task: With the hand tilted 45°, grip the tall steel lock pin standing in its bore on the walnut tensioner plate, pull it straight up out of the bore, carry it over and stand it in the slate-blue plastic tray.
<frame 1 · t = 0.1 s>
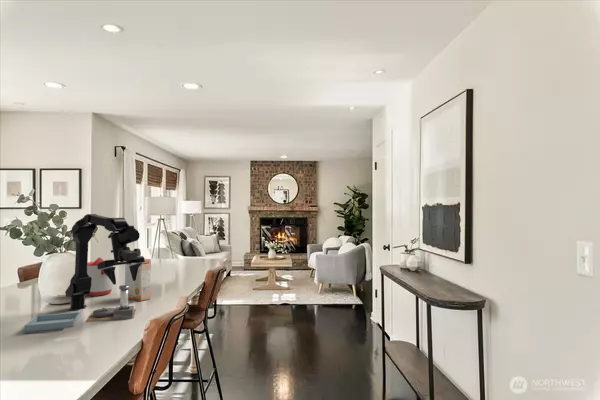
hand: (124, 282, 158), 15 cm above the kitchen island, tool pointing down, fingers open, 9 cm apart
tensioner plate: (111, 317, 160), on the kitchen island
tray: (54, 325, 149), on the kitchen island
lock pin: (123, 316, 158), point 1 cm above the kitchen island, touching tensioner plate
citrus juicer: (99, 294, 205), on the kitchen island
cracker box: (137, 299, 195), on the kitchen island
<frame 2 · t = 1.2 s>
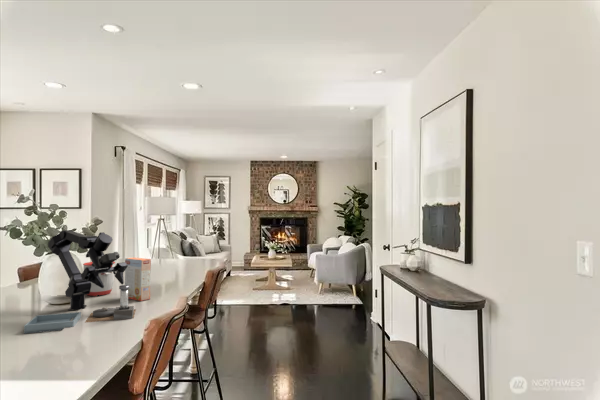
hand: (113, 285, 163), 13 cm above the kitchen island, tool tilted 45°, fingers open, 9 cm apart
nothing on the kitchen island moved.
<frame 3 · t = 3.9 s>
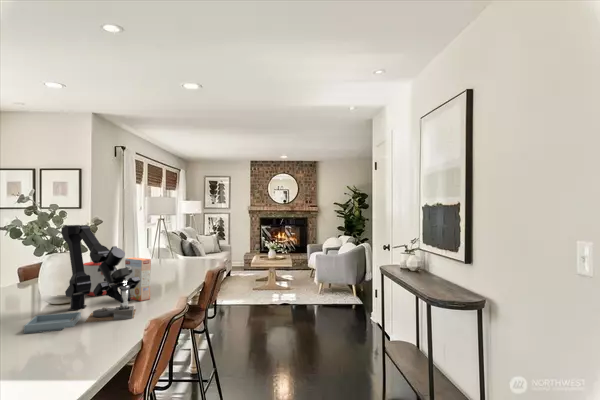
hand: (126, 301, 158), 8 cm above the kitchen island, tool tilted 45°, fingers closed on lock pin, 3 cm apart
lock pin: (123, 316, 158), point 1 cm above the kitchen island, touching gripper, tensioner plate
everything else where it was.
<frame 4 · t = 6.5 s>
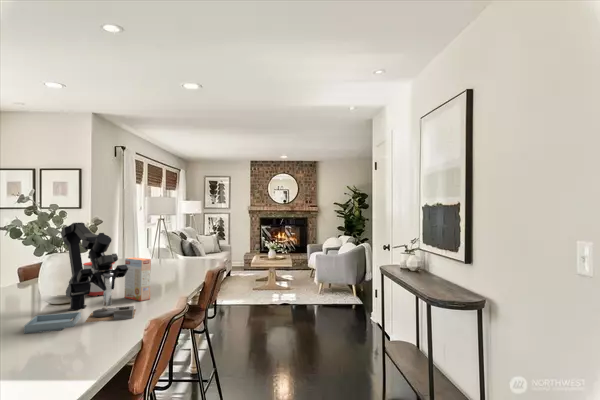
hand: (109, 289, 154), 14 cm above the kitchen island, tool tilted 45°, fingers closed on lock pin, 3 cm apart
lock pin: (107, 305, 154), point 7 cm above the kitchen island, touching gripper
everything else where it was.
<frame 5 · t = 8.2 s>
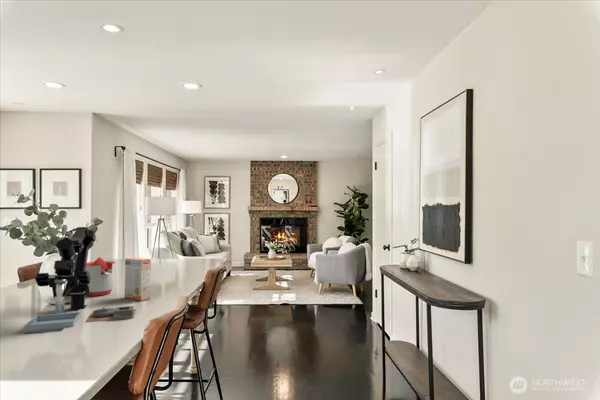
hand: (59, 296, 148), 12 cm above the kitchen island, tool tilted 45°, fingers closed on lock pin, 3 cm apart
lock pin: (59, 312, 149), point 5 cm above the kitchen island, touching gripper
everything else where it was.
when the fingers open (9 cm above the kitchen island, at t = 9.4 s): lock pin drops 2 cm, resting on tray.
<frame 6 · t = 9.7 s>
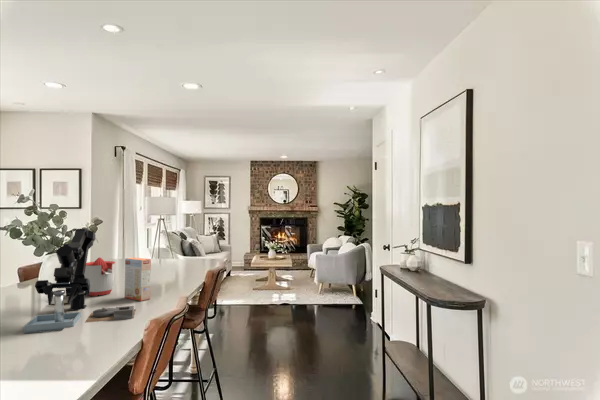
hand: (58, 304, 147), 9 cm above the kitchen island, tool tilted 45°, fingers open, 6 cm apart
lock pin: (59, 324, 149), point 1 cm above the kitchen island, touching tray
everything else where it was.
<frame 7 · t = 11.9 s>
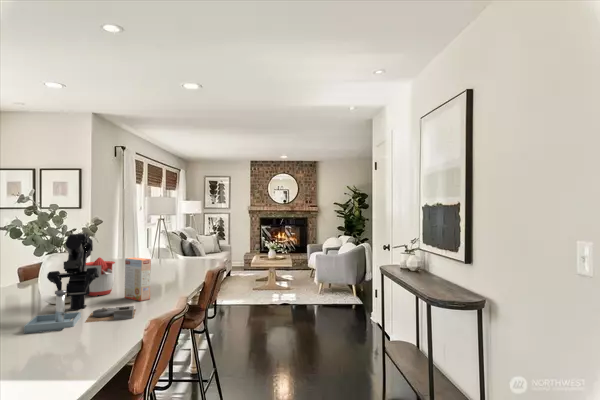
hand: (72, 293, 158), 11 cm above the kitchen island, tool tilted 30°, fingers open, 9 cm apart
nothing on the kitchen island moved.
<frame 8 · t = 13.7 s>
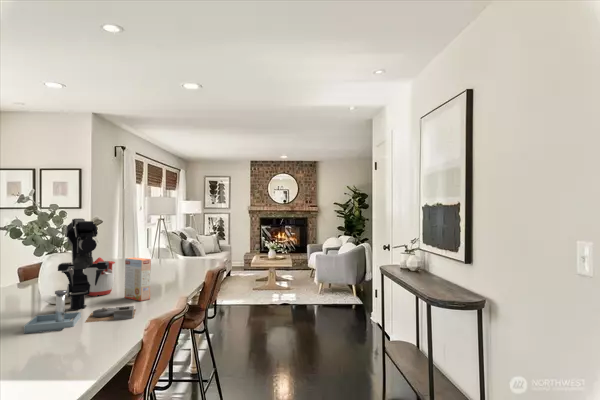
hand: (83, 285, 163), 13 cm above the kitchen island, tool pointing down, fingers open, 9 cm apart
nothing on the kitchen island moved.
at the end: lock pin inside the target area on the tray (2.2 cm from its centre), point 0.9 cm above the tray's base; the gripper is holding nothing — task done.
